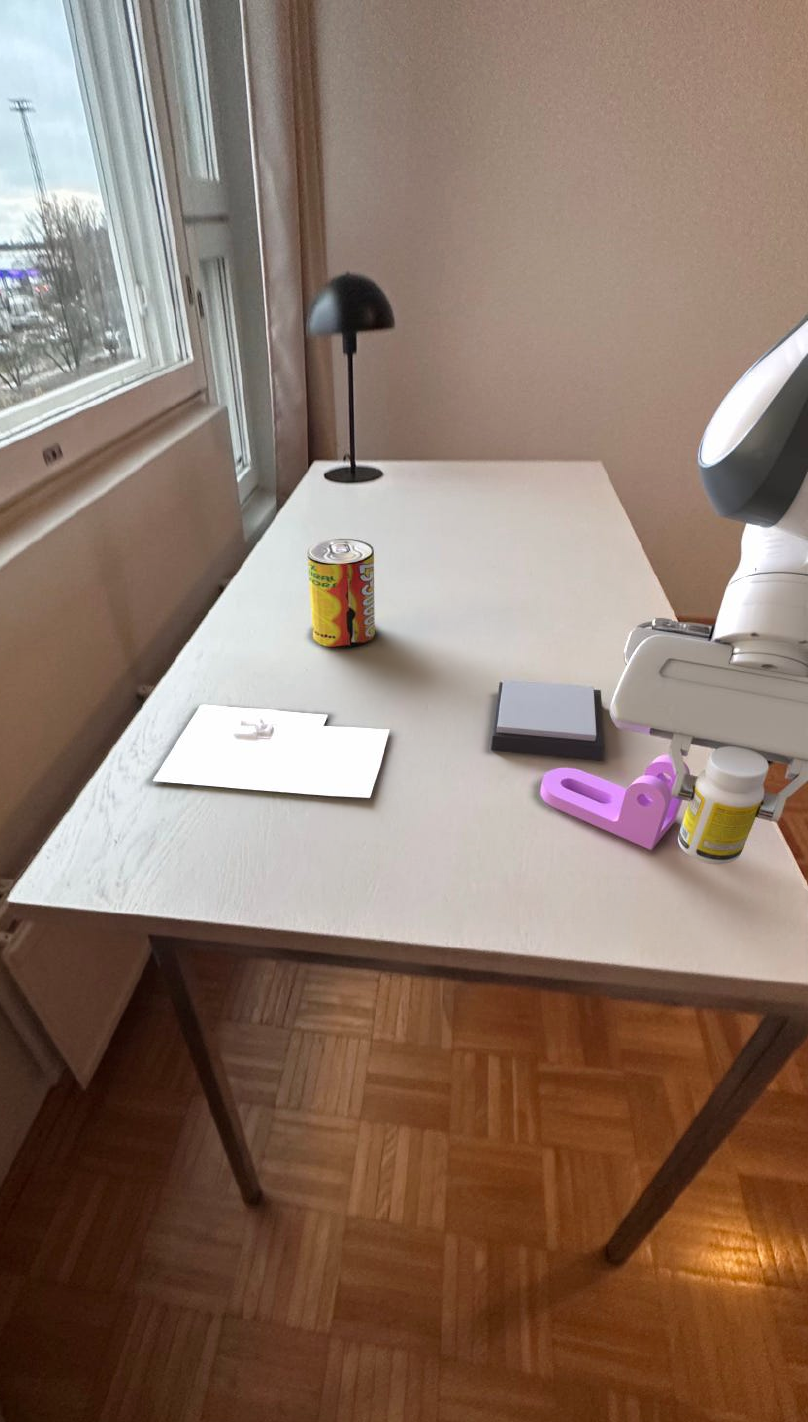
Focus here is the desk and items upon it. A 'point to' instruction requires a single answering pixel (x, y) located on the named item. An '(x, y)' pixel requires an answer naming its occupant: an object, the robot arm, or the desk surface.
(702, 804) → the supplement bottle
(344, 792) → the paper
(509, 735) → the scale
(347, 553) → the beverage can
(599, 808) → the bracket
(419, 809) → the desk surface
